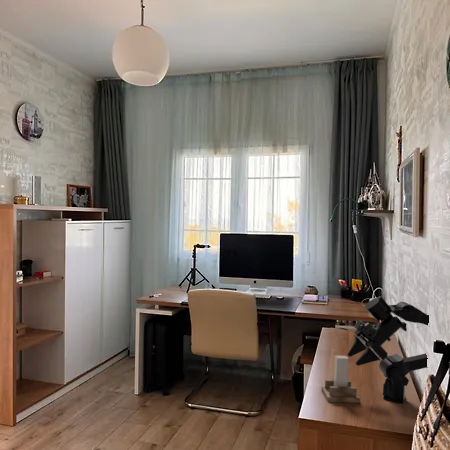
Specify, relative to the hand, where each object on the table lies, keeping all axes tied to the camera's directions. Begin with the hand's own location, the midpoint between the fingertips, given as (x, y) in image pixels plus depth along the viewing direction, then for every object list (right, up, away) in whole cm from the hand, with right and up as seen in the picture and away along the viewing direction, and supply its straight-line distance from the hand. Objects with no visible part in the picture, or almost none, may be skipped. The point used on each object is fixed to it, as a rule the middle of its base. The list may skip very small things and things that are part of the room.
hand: (352, 360), depth 151 cm
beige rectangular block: (-4, -11, 0) cm, 12 cm away
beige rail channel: (-4, -13, 0) cm, 14 cm away
